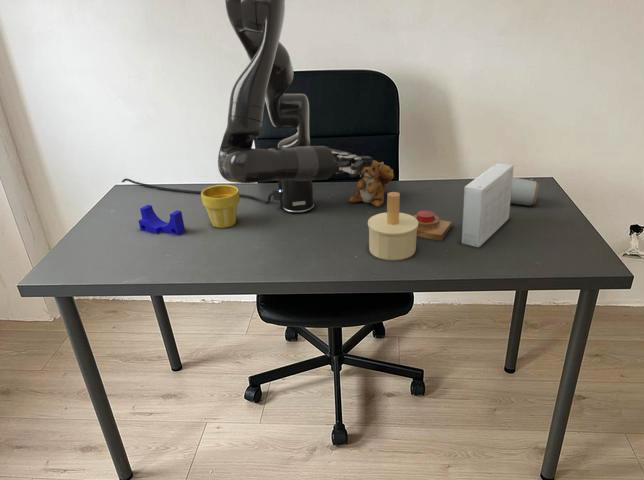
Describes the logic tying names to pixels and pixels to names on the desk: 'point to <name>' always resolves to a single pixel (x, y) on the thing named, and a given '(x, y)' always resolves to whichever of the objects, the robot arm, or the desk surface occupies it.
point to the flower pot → (221, 204)
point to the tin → (392, 245)
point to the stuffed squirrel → (373, 184)
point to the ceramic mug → (523, 191)
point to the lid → (393, 219)
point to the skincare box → (486, 204)
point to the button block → (433, 228)
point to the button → (425, 216)
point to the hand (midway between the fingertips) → (370, 161)
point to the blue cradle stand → (160, 222)
